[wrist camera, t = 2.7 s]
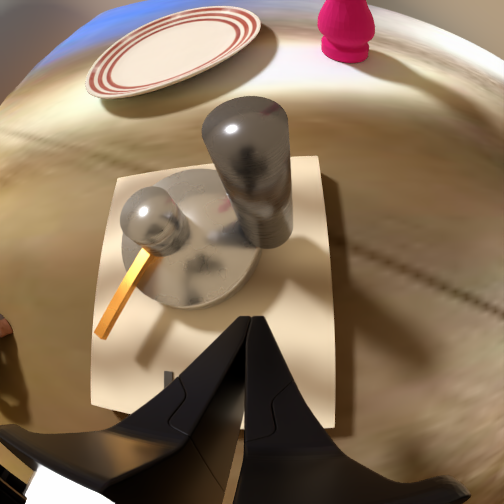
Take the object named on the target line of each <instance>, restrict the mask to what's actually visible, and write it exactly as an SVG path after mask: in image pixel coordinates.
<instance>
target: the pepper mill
mask: <svg viewBox="0 0 504 504" xmlns="http://www.w3.org/2000/svg"><path fill="white" fill-rule="evenodd" d="M318 28H319V30H320V32H321V33H322V34H323V35H324V36H323V37H322V52H323V53H324V54H325V55H326V56H328V57H329V58H331V59H334V60H336V61H340V62H345V63H358V62H362V61H364V60H365V59H367V57H368V51H369V45H368V43H367V42H368V41H370V40H371V39H372V38H373V36H374V34H375V24H374V20H373V17H372V14H371V12H370V10H369V8H368V5H367V2H366V0H326V2H325V3H324V5H323V7H322V9H321V10H320V13H319V16H318Z"/></svg>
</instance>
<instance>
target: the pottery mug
mask: <svg viewBox="0 0 504 504" xmlns="http://www.w3.org/2000/svg"><path fill="white" fill-rule="evenodd" d="M12 333H13V331H12V329H11V326H10V325H9V323H8V322H7V321H6V319H5V318H4V317H3V316H2V315H1V314H0V337H1V338H2V337H4V336H5V335H7V334H12Z"/></svg>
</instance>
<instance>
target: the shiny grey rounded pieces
mask: <svg viewBox="0 0 504 504" xmlns="http://www.w3.org/2000/svg"><path fill="white" fill-rule="evenodd" d="M202 137H203V140H204V142H205V145H206V147H207V149H208V152H209V154H210V156H211V159H212V161H213V163H214V166H215V168H216V170H212V169H202V168H199V169H189V170H184V171H181V172H177V173H174V174H172V175H170V176H167V177H166V178H164V179H162V180H160V181H159V182H157V183H156V184H154V185H153V186H150V187H145V188H143V189H140V190H139V191H137V192H135V193H134V194H133V195H132V196H131V197H130V198H129V199H128V200H127V201H126V203H125V205H124V206H123V208H122V211H121V215H120V226H121V229H122V231H123V235H122V243H121V248H122V259H123V263H124V267H125V269H126V272H127V274H126V276H125V277H124V279H123V281H122V282H121V284H120V286H119V287H118V289H117V291H116V293H115V294H114V296H113V298H112V300H111V301H110V303H109V305H108V307H107V309H106V310H105V312H104V314H103V316H102V318H101V320H100V321H99V323H98V325H97V327H96V329H95V331H94V333H95V334H96V335H97V336H98V337H99V338H100V339H103V340H106V339H107V337H108V336H109V334H110V332H111V330H112V328H113V326H114V324H115V323H116V321H117V319H118V317H119V315H120V314H121V312H122V310H123V308H124V307H125V305H126V303H127V301H128V300H129V298H130V296H131V294H132V293H133V291H134V289H135V288H136V287H137V288H138V289H139V290H140V291H141V292H142V293H143V294H145V295H146V296H148V297H150V298H151V299H153V300H155V301H158V302H160V303H162V304H165V305H167V306H170V307H172V308H176V309H180V310H201V309H206V308H210V307H213V306H216V305H218V304H220V303H222V302H224V301H226V300H228V299H229V298H231V297H232V296H234V295H235V294H236V293H237V292H238V291H239V290H241V289H242V288H243V286H244V285H245V284H246V283H247V282H248V281H249V279H250V278H251V276H252V275H253V273H254V271H255V269H256V267H257V265H258V263H259V260H260V257H261V253H262V249H272V248H276V247H279V246H281V245H282V244H284V243H285V242H286V241H287V240H288V239H289V237H290V236H291V234H292V231H293V202H292V180H291V161H290V145H289V130H288V118H287V115H286V112H285V111H284V109H283V108H282V107H281V106H280V105H279V104H277V103H276V102H274V101H272V100H270V99H267V98H263V97H257V96H246V97H239V98H235V99H232V100H229V101H227V102H224V103H223V104H221V105H219V106H218V107H216V108H215V109H214V110H212V111H211V112H210V113H209V115H208V116H207V117H206V119H205V121H204V123H203V126H202Z"/></svg>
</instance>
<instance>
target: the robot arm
mask: <svg viewBox="0 0 504 504" xmlns="http://www.w3.org/2000/svg"><path fill="white" fill-rule="evenodd" d="M243 414H244V455H243V463H242V467H241V471H240V476H239V480H238V484H237V488H236V492H235V496H234V500H233V504H462V503H464V502H465V501H467V500H468V499H469V498H470V497H471V494H470V492H469V490H468V489H467V488H466V487H465V486H464V485H463V484H462V483H461V482H459V481H458V480H457V479H455V478H454V477H452V476H450V475H442V476H437V477H433V478H430V479H426V480H423V481H419V482H414V483H400V482H395V481H392V480H389V479H387V478H385V477H383V476H382V475H380V474H378V473H376V472H374V471H372V470H370V469H369V468H367V467H365V466H363V465H361V464H360V463H358V462H356V461H355V460H353V459H351V458H349V457H348V456H347V455H345V454H344V453H343V452H342V451H341V450H340V449H339V448H338V447H337V445H336V444H335V443H334V442H333V440H332V439H331V438H330V436H329V435H328V433H327V432H326V431H325V429H324V428H323V427H322V425H321V424H320V422H319V421H318V420H317V418H316V417H315V416H314V414H313V413H312V411H311V410H310V408H309V407H308V405H307V403H306V402H305V400H304V398H303V396H302V394H301V393H300V391H299V389H298V387H297V384H296V382H295V381H294V378H293V376H292V374H291V372H290V370H289V368H288V366H287V363H286V361H285V359H284V357H283V355H282V353H281V351H280V348H279V346H278V344H277V342H276V340H275V338H274V336H273V333H272V331H271V329H270V327H269V325H268V323H267V320H266V318H265V317H264V316H252V317H251V316H239V317H237V318H236V319H235V320H234V321H233V322H232V323H231V324H230V325H229V326H228V327H227V328H226V329H225V330H224V331H223V332H222V333H221V334H220V335H219V336H218V337H217V338H216V339H215V340H214V341H213V342H212V343H211V344H210V345H209V346H208V347H207V348H206V349H205V350H204V351H203V352H202V353H201V354H200V355H199V356H198V357H197V358H196V359H195V360H194V361H193V362H192V363H191V364H190V365H189V366H188V367H187V368H186V369H185V370H184V371H182V372H181V373H180V374H179V377H176V378H175V379H174V380H173V381H172V382H171V383H170V384H169V385H167V386H166V387H165V388H164V389H163V390H162V391H161V392H160V393H158V394H157V395H156V396H155V397H153V398H152V399H151V400H149V401H148V402H147V403H146V404H144V405H143V406H141V407H140V408H139V409H137V410H136V411H135V412H133V413H132V414H130V415H129V416H128V417H126V418H125V419H123V420H122V421H121V422H119V423H117V424H116V425H114V426H112V427H110V428H108V429H105V430H101V431H94V432H81V433H63V434H39V433H33V432H29V431H27V430H25V429H23V428H21V427H20V426H18V425H15V424H8V425H1V426H0V442H1V443H2V444H3V445H4V446H5V447H6V448H7V449H8V450H10V451H11V452H12V453H13V454H14V455H15V456H16V457H18V458H19V459H20V460H21V461H22V462H23V463H25V464H26V465H27V466H28V467H30V468H31V469H32V470H33V473H32V475H31V477H30V479H29V481H28V483H27V484H25V483H24V482H23V481H21V480H20V479H18V478H17V477H16V476H14V475H13V474H12V473H10V472H9V471H8V470H7V469H5V468H4V467H3V466H2V465H0V504H222V502H223V498H224V494H225V493H224V492H225V489H226V486H227V482H228V478H229V473H230V469H231V465H232V461H233V457H234V453H235V449H236V445H237V440H238V436H239V432H240V427H241V423H242V419H243Z"/></svg>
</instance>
